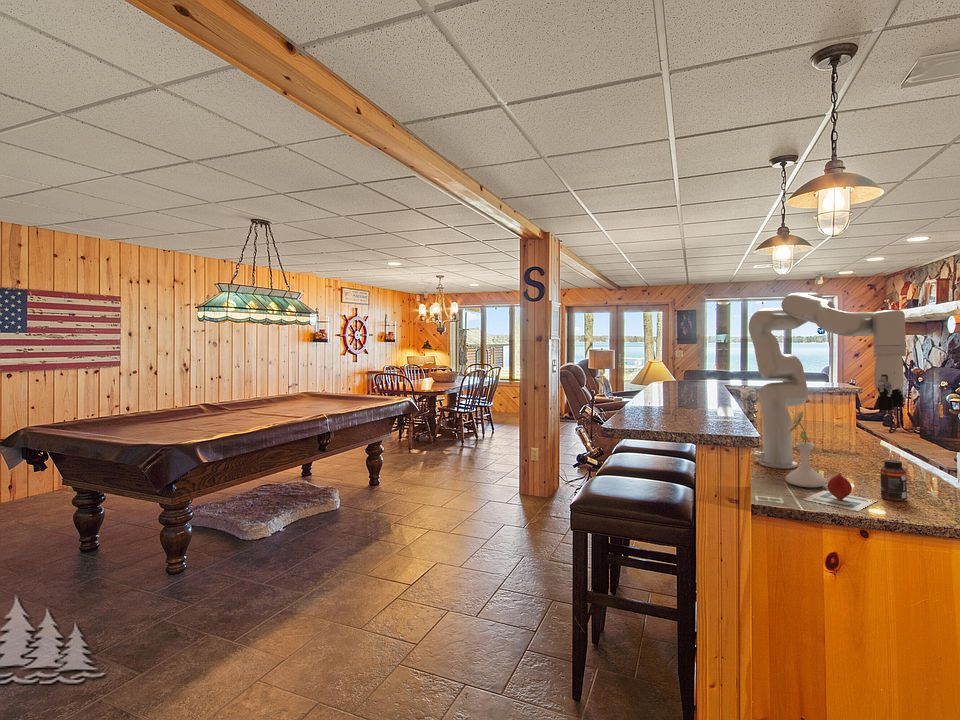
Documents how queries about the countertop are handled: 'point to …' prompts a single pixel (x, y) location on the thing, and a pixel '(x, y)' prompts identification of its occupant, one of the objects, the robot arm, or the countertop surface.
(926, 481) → the countertop surface
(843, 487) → the onion
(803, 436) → the flower in vase
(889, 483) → the supplement bottle
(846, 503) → the letter board
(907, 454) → the countertop surface
